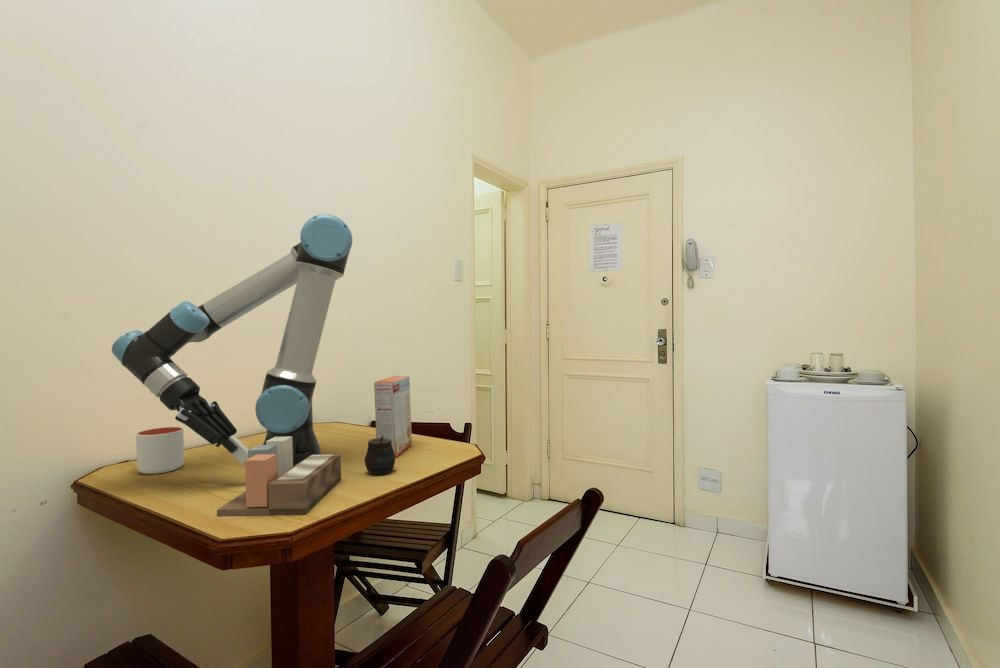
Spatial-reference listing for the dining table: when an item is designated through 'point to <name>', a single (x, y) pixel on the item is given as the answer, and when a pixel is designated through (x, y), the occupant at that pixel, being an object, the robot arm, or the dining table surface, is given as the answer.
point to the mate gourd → (380, 456)
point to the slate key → (263, 451)
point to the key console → (293, 489)
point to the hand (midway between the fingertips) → (248, 459)
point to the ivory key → (283, 453)
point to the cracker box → (394, 412)
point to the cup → (160, 450)
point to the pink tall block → (259, 479)
